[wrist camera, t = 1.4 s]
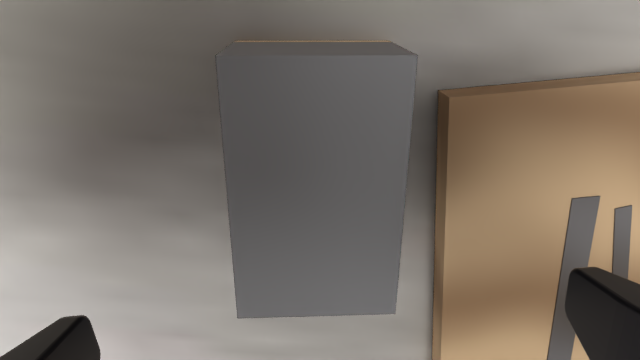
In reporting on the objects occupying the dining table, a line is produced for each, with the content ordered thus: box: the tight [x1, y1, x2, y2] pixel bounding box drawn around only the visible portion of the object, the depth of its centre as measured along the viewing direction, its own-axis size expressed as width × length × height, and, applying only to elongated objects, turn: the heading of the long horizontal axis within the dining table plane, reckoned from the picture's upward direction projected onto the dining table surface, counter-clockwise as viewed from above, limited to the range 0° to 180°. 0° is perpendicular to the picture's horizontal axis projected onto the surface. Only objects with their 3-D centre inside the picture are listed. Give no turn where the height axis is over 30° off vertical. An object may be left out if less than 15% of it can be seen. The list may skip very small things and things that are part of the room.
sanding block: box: [215, 41, 418, 318], centre depth 14 cm, size 8×5×4 cm, turn 0°
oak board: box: [432, 72, 640, 360], centre depth 18 cm, size 18×11×1 cm, turn 4°
